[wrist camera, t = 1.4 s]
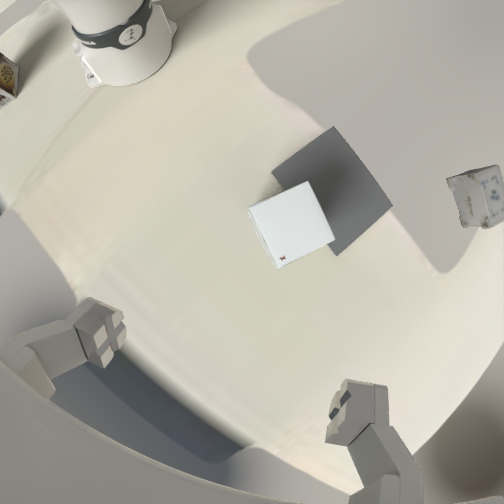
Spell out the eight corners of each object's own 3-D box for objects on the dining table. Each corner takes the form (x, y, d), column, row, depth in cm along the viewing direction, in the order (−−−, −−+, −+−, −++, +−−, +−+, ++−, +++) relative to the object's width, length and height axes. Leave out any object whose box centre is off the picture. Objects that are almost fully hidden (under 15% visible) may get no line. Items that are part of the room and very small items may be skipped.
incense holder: (441, 179, 46) (477, 170, 35) (466, 170, 46) (502, 161, 36) (455, 230, 47) (493, 230, 36) (479, 217, 47) (516, 215, 36)
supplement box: (313, 237, 44) (338, 241, 32) (267, 259, 44) (276, 271, 32) (292, 192, 44) (309, 178, 31) (246, 213, 44) (246, 207, 31)
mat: (271, 172, 44) (271, 171, 43) (332, 126, 44) (333, 126, 44) (336, 256, 45) (337, 256, 45) (391, 205, 45) (392, 205, 45)
